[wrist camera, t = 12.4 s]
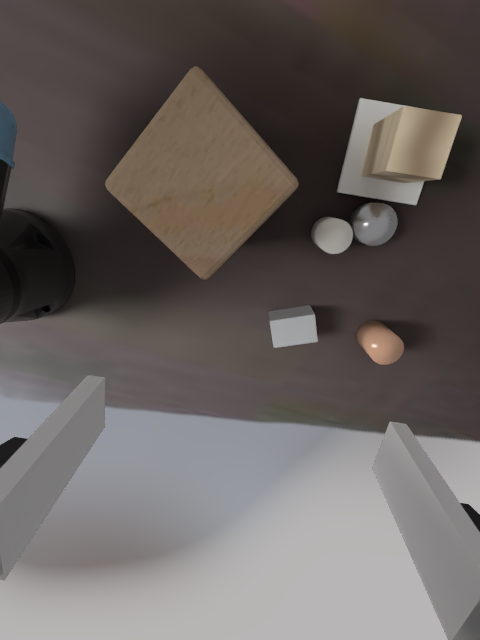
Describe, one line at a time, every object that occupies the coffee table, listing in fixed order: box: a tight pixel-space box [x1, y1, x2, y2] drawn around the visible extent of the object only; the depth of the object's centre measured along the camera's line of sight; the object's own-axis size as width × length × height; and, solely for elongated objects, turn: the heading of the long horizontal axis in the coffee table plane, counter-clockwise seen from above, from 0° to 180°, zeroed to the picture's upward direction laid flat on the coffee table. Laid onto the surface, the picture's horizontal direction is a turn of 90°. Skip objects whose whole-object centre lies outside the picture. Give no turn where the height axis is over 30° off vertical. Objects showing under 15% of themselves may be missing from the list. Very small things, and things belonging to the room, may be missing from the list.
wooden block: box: [105, 66, 299, 280], centre depth 31 cm, size 10×10×20 cm
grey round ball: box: [349, 203, 397, 246], centre depth 40 cm, size 5×5×3 cm
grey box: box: [268, 305, 318, 348], centre depth 45 cm, size 6×4×4 cm, turn 100°
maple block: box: [361, 106, 462, 183], centre depth 34 cm, size 6×6×8 cm
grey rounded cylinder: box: [311, 217, 353, 254], centre depth 40 cm, size 4×4×5 cm
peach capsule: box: [357, 321, 404, 365], centre depth 44 cm, size 4×4×5 cm
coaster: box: [337, 98, 424, 205], centre depth 38 cm, size 10×10×1 cm
